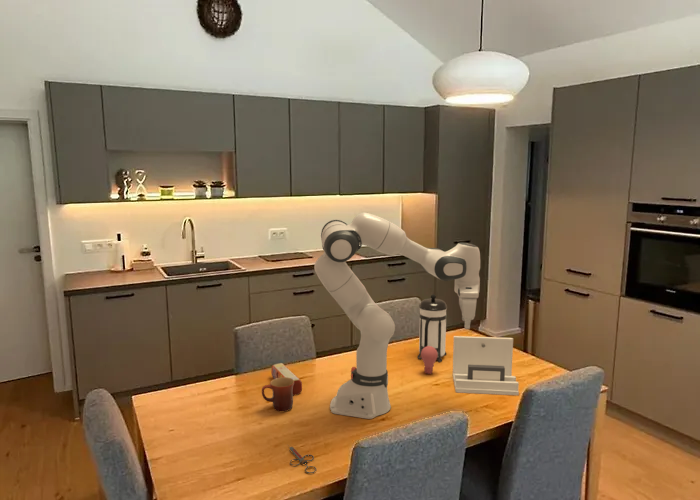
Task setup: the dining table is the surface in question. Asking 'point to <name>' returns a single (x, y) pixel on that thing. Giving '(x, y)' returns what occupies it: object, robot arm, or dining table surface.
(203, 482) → the dining table surface
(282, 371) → the snack package
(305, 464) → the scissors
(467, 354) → the picture ledge
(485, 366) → the picture frame
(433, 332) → the coffee press
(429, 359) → the light bulb
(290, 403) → the mug
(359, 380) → the robot arm
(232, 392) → the dining table surface
